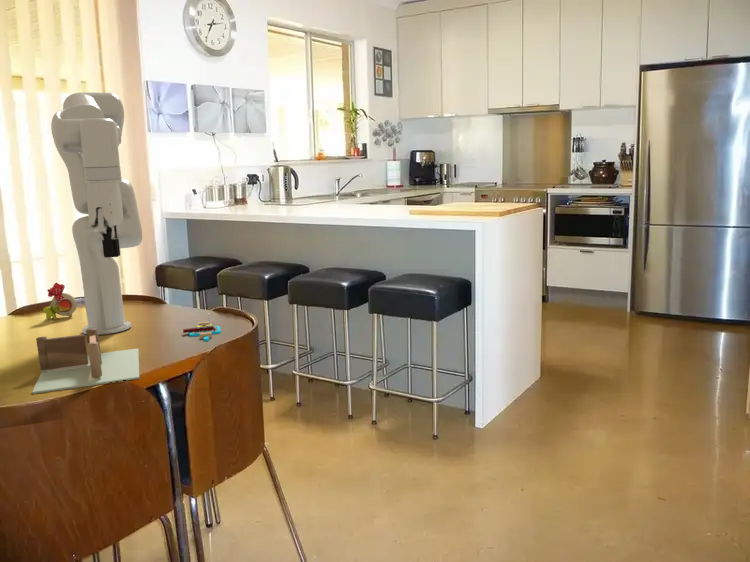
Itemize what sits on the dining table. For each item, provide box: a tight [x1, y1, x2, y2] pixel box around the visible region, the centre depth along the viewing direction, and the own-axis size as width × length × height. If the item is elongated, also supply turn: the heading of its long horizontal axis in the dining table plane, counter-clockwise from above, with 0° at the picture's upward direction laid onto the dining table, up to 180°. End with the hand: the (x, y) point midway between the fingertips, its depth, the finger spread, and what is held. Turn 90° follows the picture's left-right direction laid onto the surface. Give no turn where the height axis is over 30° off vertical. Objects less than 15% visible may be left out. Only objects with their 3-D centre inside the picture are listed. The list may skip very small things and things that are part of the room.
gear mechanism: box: [182, 313, 222, 342], centre depth 175 cm, size 20×5×9 cm
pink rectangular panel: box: [87, 335, 102, 378], centre depth 142 cm, size 2×11×7 cm, turn 24°
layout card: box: [31, 348, 140, 395], centre depth 146 cm, size 25×20×1 cm
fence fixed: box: [35, 328, 102, 371], centre depth 147 cm, size 2×12×8 cm, turn 110°
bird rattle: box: [42, 282, 78, 320], centre depth 204 cm, size 6×11×9 cm
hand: (112, 256), depth 152 cm, fingers closed
